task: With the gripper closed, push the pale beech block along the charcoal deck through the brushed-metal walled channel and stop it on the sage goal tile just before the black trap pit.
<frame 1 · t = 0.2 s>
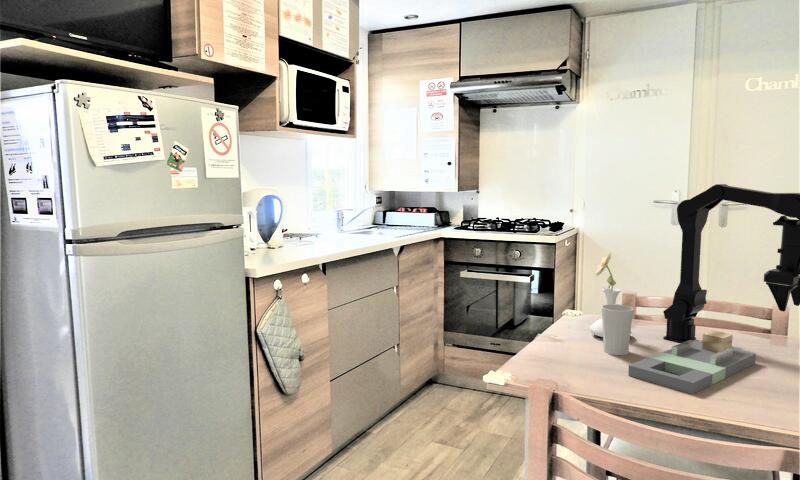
hand: (789, 308, 144), 14 cm above the table, tool pointing down, fingers open, 9 cm apart
beech block: (716, 349, 149), point 2 cm above the table, touching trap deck
flower in vase: (609, 337, 170), on the table
cup: (615, 352, 156), on the table
channel rails: (702, 351, 144), on the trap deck, point 3 cm above the table
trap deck: (693, 369, 142), on the table
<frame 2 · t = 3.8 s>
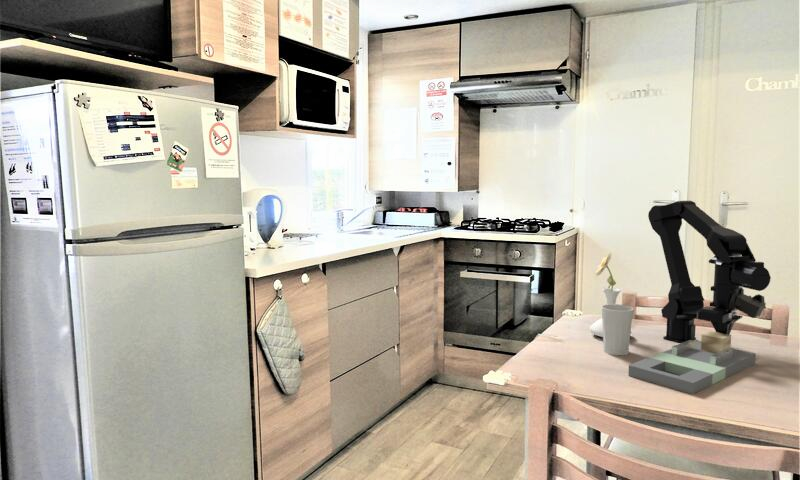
hand: (723, 342, 151), 4 cm above the table, tool pointing down, fingers closed
beech block: (715, 350, 148), point 2 cm above the table, touching gripper, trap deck
everything else where it was.
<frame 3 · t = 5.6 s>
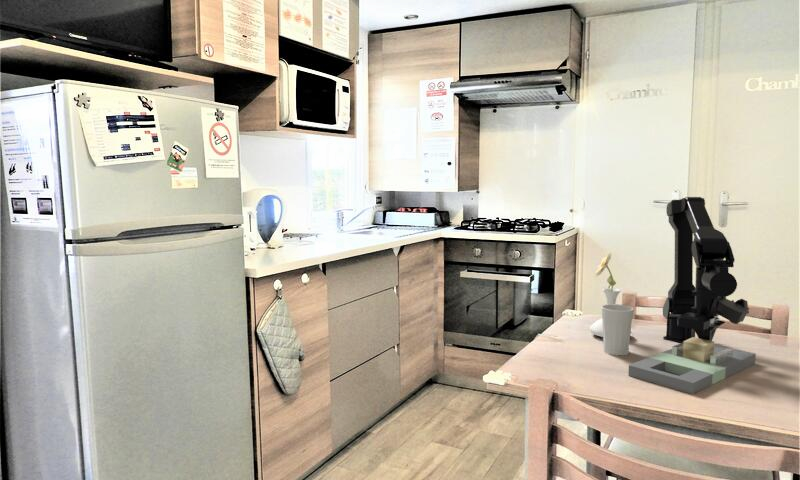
hand: (706, 349, 145), 4 cm above the table, tool pointing down, fingers closed
beech block: (698, 357, 143), point 3 cm above the table, touching gripper, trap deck
everything else where it was.
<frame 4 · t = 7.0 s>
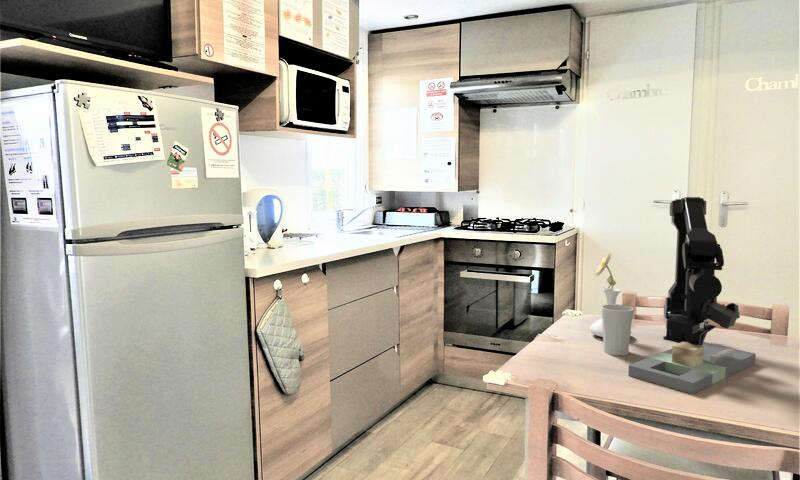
hand: (695, 354, 142), 4 cm above the table, tool pointing down, fingers closed
beech block: (687, 362, 139), point 2 cm above the table, touching gripper, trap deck
everything else where it was.
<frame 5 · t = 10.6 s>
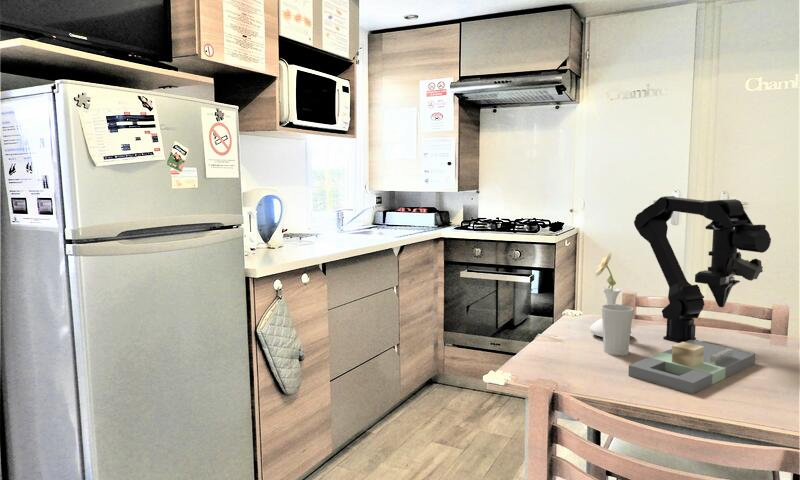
hand: (721, 307, 154), 12 cm above the table, tool pointing down, fingers closed
beech block: (687, 362, 139), point 2 cm above the table, touching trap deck
everything else where it was.
at the end: beech block 0.3 cm from the target spot, point 2.5 cm above the table; beech block tilted 0° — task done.
